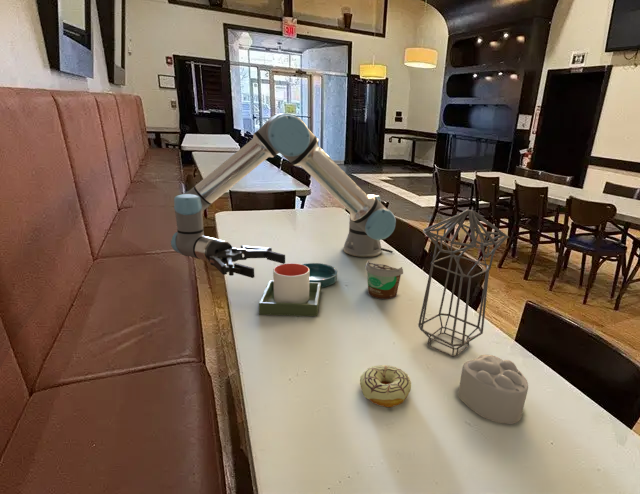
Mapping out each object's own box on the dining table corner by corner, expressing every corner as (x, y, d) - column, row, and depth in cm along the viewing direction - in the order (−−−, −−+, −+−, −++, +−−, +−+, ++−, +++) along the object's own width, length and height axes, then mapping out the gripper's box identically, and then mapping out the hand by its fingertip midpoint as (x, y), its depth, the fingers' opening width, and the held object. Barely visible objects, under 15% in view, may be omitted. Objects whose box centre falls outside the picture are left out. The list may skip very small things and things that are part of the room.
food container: (357, 295, 129) (358, 265, 125) (365, 288, 134) (367, 259, 130) (393, 304, 125) (396, 273, 121) (400, 296, 130) (403, 267, 126)
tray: (320, 292, 128) (320, 282, 127) (317, 316, 114) (317, 305, 113) (269, 290, 127) (269, 280, 125) (259, 314, 112) (258, 303, 111)
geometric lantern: (405, 343, 104) (421, 207, 91) (440, 323, 115) (458, 199, 103) (459, 371, 95) (485, 223, 82) (491, 346, 106) (517, 213, 93)
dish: (337, 271, 145) (338, 263, 144) (336, 289, 131) (336, 281, 130) (293, 270, 144) (293, 262, 143) (287, 288, 130) (287, 279, 129)
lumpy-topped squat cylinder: (484, 378, 93) (490, 345, 90) (533, 412, 83) (543, 376, 80) (451, 393, 87) (457, 358, 84) (500, 432, 77) (509, 394, 74)
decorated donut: (359, 409, 80) (360, 393, 79) (359, 376, 90) (360, 361, 89) (412, 410, 81) (414, 394, 80) (406, 376, 91) (407, 362, 90)
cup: (313, 296, 124) (313, 265, 121) (303, 311, 115) (303, 278, 111) (280, 292, 125) (280, 261, 121) (268, 306, 116) (267, 274, 112)
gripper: (244, 251, 140) (295, 265, 132) (182, 274, 118) (239, 292, 110) (243, 230, 137) (295, 243, 129) (179, 250, 116) (237, 266, 108)
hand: (269, 265), depth 120 cm, fingers open, 13 cm apart
